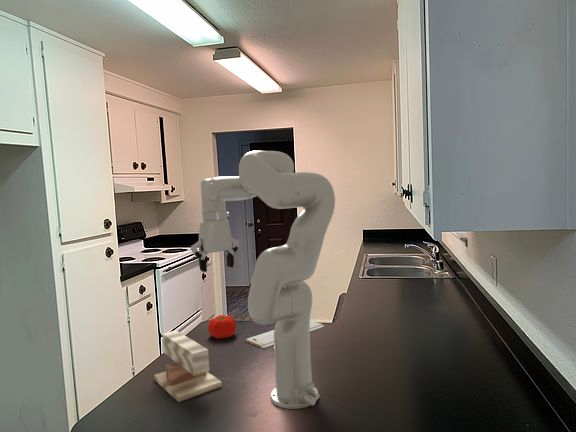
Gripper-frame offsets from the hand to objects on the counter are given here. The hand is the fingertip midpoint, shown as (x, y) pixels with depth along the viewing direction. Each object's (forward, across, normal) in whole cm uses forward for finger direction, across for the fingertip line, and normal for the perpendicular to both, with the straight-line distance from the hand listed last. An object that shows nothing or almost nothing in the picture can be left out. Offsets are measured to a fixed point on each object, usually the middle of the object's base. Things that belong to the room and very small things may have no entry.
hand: (217, 269), depth 138 cm
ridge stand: (+30, +16, +8) cm, 35 cm away
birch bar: (+24, +16, +8) cm, 30 cm away
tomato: (+31, -11, -20) cm, 38 cm away
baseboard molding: (+31, -30, -4) cm, 44 cm away
